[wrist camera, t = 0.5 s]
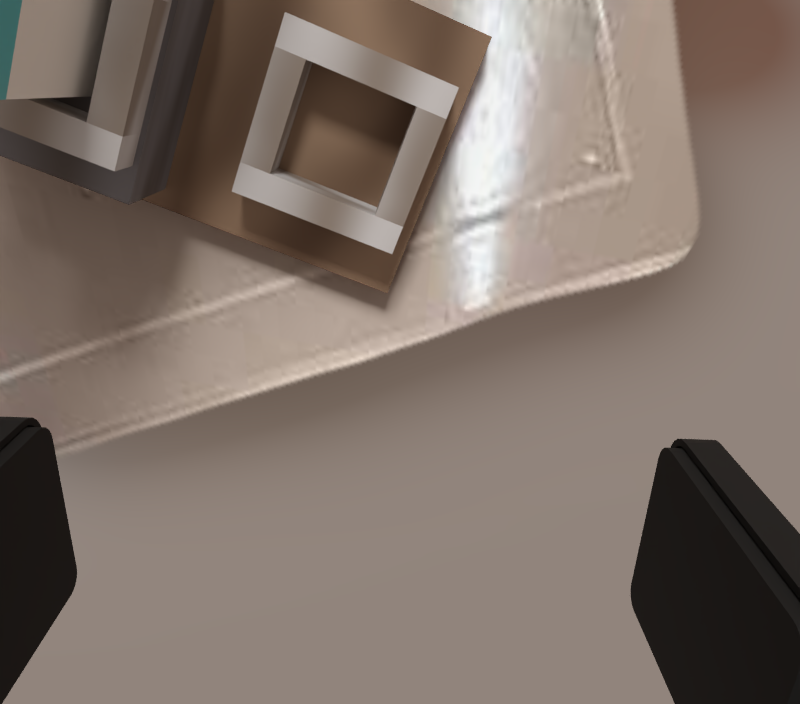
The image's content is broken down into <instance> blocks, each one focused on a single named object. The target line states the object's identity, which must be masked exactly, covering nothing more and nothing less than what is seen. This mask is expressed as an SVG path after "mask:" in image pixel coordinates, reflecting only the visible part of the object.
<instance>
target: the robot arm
mask: <svg viewBox="0 0 800 704" xmlns="http://www.w3.org/2000/svg"><path fill="white" fill-rule="evenodd" d="M76 578H77V568H76V562H75V557H74V551H73V546H72V540H71V535H70V530H69V524H68V519H67V514H66V508H65V503H64V498H63V492H62V487H61V482H60V476H59V471H58V465H57V460H56V455H55V449H54V444H53V439H52V435H51V433H50V431H49V429H47V428H42V427H41V425H40V424H39V422H38V421H37V420H36V419H34V418H24V417H0V704H2V703H3V700H4V699H5V698H6V696H7V695H8V693H9V691H10V690H11V688H12V687H13V685H14V684H15V682H16V681H17V679H18V677H19V676H20V674H21V673H22V671H23V670H24V668H25V666H26V665H27V663H28V662H29V660H30V659H31V657H32V655H33V654H34V652H35V651H36V649H37V647H38V646H39V644H40V643H41V641H42V640H43V638H44V636H45V635H46V633H47V632H48V630H49V629H50V627H51V626H52V624H53V622H54V621H55V619H56V618H57V616H58V615H59V613H60V611H61V610H62V608H63V607H64V605H65V603H66V602H67V600H68V599H69V597H70V596H71V594H72V592H73V590H74V587H75V583H76ZM631 601H632V606H633V609H634V612H635V614H636V616H637V619H638V621H639V623H640V626H641V628H642V630H643V632H644V634H645V637H646V639H647V641H648V643H649V646H650V648H651V650H652V653H653V655H654V657H655V659H656V662H657V664H658V666H659V669H660V671H661V673H662V676H663V678H664V680H665V682H666V685H667V687H668V689H669V691H670V694H671V696H672V698H673V701H674V703H675V704H800V534H799V533H798V532H797V530H796V529H795V528H794V527H793V526H792V525H791V524H790V522H788V520H787V519H786V518H785V517H784V516H783V515H782V513H781V512H780V511H779V510H778V509H777V508H776V506H775V505H774V504H773V503H772V502H771V501H770V500H769V499H768V497H767V496H766V495H765V494H764V493H763V492H762V491H761V489H760V488H759V487H758V486H757V485H756V484H755V483H754V482H753V480H752V479H751V478H750V477H749V476H748V475H747V473H745V471H744V470H743V469H742V468H741V467H740V465H738V463H737V462H736V461H735V460H734V459H733V458H732V456H731V455H730V454H729V453H728V452H727V451H726V450H725V448H724V447H723V446H722V445H721V444H720V443H719V442H718V441H716V440H696V439H677V440H675V441H674V442H673V444H672V446H671V448H664V449H662V451H661V453H660V456H659V458H658V463H657V468H656V472H655V477H654V482H653V486H652V491H651V496H650V500H649V505H648V509H647V514H646V519H645V524H644V528H643V532H642V537H641V542H640V546H639V551H638V556H637V560H636V565H635V569H634V575H633V579H632V583H631Z"/></svg>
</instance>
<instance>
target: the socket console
mask: <svg viewBox="0 0 800 704" xmlns="http://www.w3.org/2000/svg"><path fill="white" fill-rule="evenodd" d="M491 38H492V37H491V36H488V35H486V34H484V33H482V32H479V31H477V30H475V29H473V28H471V27H468V26H466V25H464V24H462V23H459V22H457V21H455V20H453V19H451V18H448V17H446V16H444V15H442V14H439V13H437V12H435V11H433V10H430V9H428V8H426V7H424V6H422V5H419V4H417V3H415V2H413V1H410V0H112V3H111V7H110V12H109V17H108V22H107V27H106V31H105V36H104V41H103V46H102V51H101V55H100V60H99V65H98V70H97V74H96V79H95V84H94V89H93V94H92V96H88V97H61V98H33V99H6V100H0V156H3V157H5V158H8V159H10V160H13V161H16V162H18V163H21V164H24V165H26V166H29V167H31V168H34V169H37V170H39V171H42V172H45V173H47V174H50V175H52V176H55V177H58V178H60V179H63V180H66V181H68V182H71V183H73V184H76V185H79V186H81V187H84V188H87V189H89V190H92V191H94V192H97V193H100V194H102V195H105V196H108V197H110V198H113V199H115V200H118V201H121V202H123V203H126V204H132V203H134V202H136V201H139V200H141V199H142V200H145V201H147V202H150V203H153V204H155V205H158V206H161V207H163V208H166V209H168V210H171V211H174V212H176V213H179V214H181V215H184V216H187V217H189V218H192V219H194V220H197V221H200V222H202V223H205V224H208V225H210V226H213V227H215V228H218V229H221V230H223V231H226V232H228V233H231V234H234V235H236V236H239V237H241V238H244V239H247V240H249V241H252V242H255V243H257V244H260V245H262V246H265V247H268V248H270V249H273V250H275V251H278V252H281V253H283V254H286V255H289V256H291V257H294V258H296V259H299V260H302V261H304V262H307V263H309V264H312V265H315V266H317V267H320V268H322V269H325V270H328V271H330V272H333V273H336V274H338V275H341V276H343V277H346V278H349V279H351V280H354V281H356V282H359V283H362V284H364V285H367V286H370V287H372V288H375V289H377V290H380V291H383V292H385V293H388V290H389V288H390V285H391V283H392V280H393V278H394V276H395V273H396V271H397V268H398V266H399V263H400V261H401V258H402V256H403V253H404V251H405V249H406V246H407V244H408V241H409V239H410V236H411V234H412V231H413V229H414V226H415V224H416V222H417V219H418V217H419V214H420V212H421V209H422V207H423V204H424V202H425V199H426V197H427V195H428V192H429V190H430V187H431V185H432V182H433V180H434V177H435V175H436V172H437V170H438V168H439V165H440V163H441V160H442V158H443V155H444V153H445V150H446V148H447V145H448V143H449V141H450V138H451V136H452V133H453V131H454V128H455V126H456V123H457V121H458V118H459V116H460V114H461V111H462V109H463V106H464V104H465V101H466V99H467V96H468V94H469V92H470V89H471V87H472V84H473V82H474V79H475V77H476V74H477V72H478V69H479V67H480V65H481V62H482V60H483V57H484V55H485V52H486V50H487V47H488V45H489V42H490V40H491Z"/></svg>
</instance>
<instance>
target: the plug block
mask: <svg viewBox="0 0 800 704" xmlns="http://www.w3.org/2000/svg"><path fill="white" fill-rule="evenodd" d="M111 3H112V0H0V100H6V99H33V98H61V97H88V96H92V94H93V89H94V84H95V79H96V74H97V70H98V65H99V60H100V55H101V51H102V46H103V41H104V36H105V31H106V27H107V22H108V17H109V12H110V7H111Z"/></svg>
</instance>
